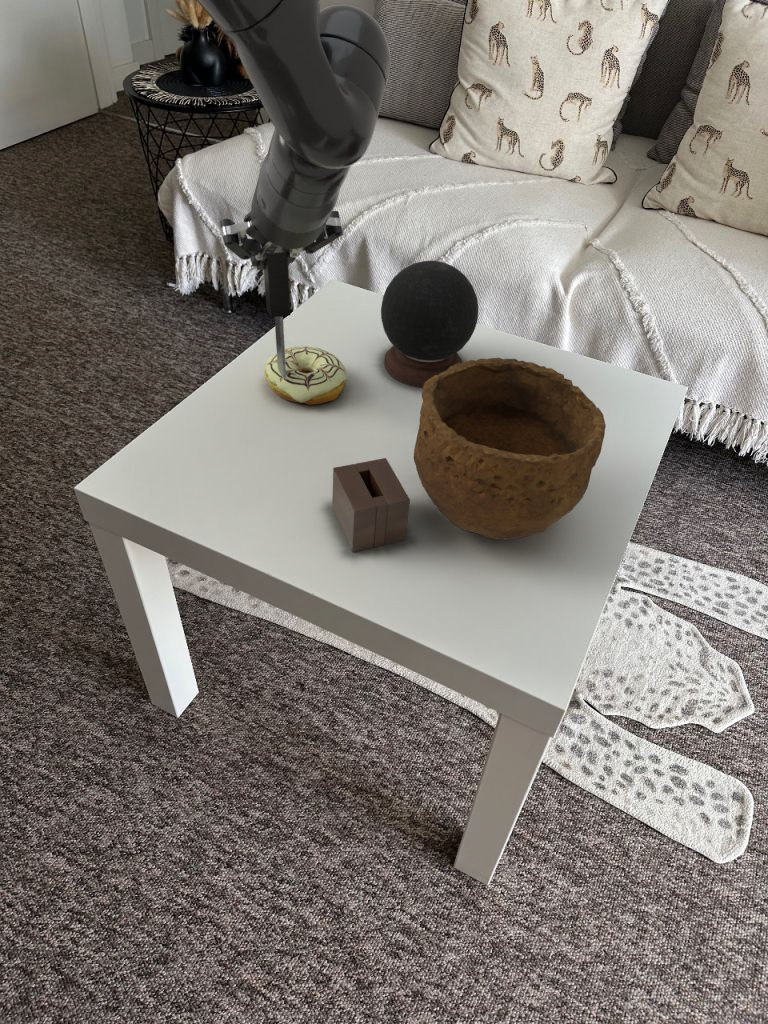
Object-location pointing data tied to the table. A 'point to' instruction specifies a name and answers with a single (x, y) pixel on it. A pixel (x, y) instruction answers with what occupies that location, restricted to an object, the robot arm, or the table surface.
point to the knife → (278, 298)
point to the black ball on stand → (427, 320)
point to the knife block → (370, 504)
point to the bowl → (506, 446)
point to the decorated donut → (307, 375)
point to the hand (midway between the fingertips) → (270, 260)
